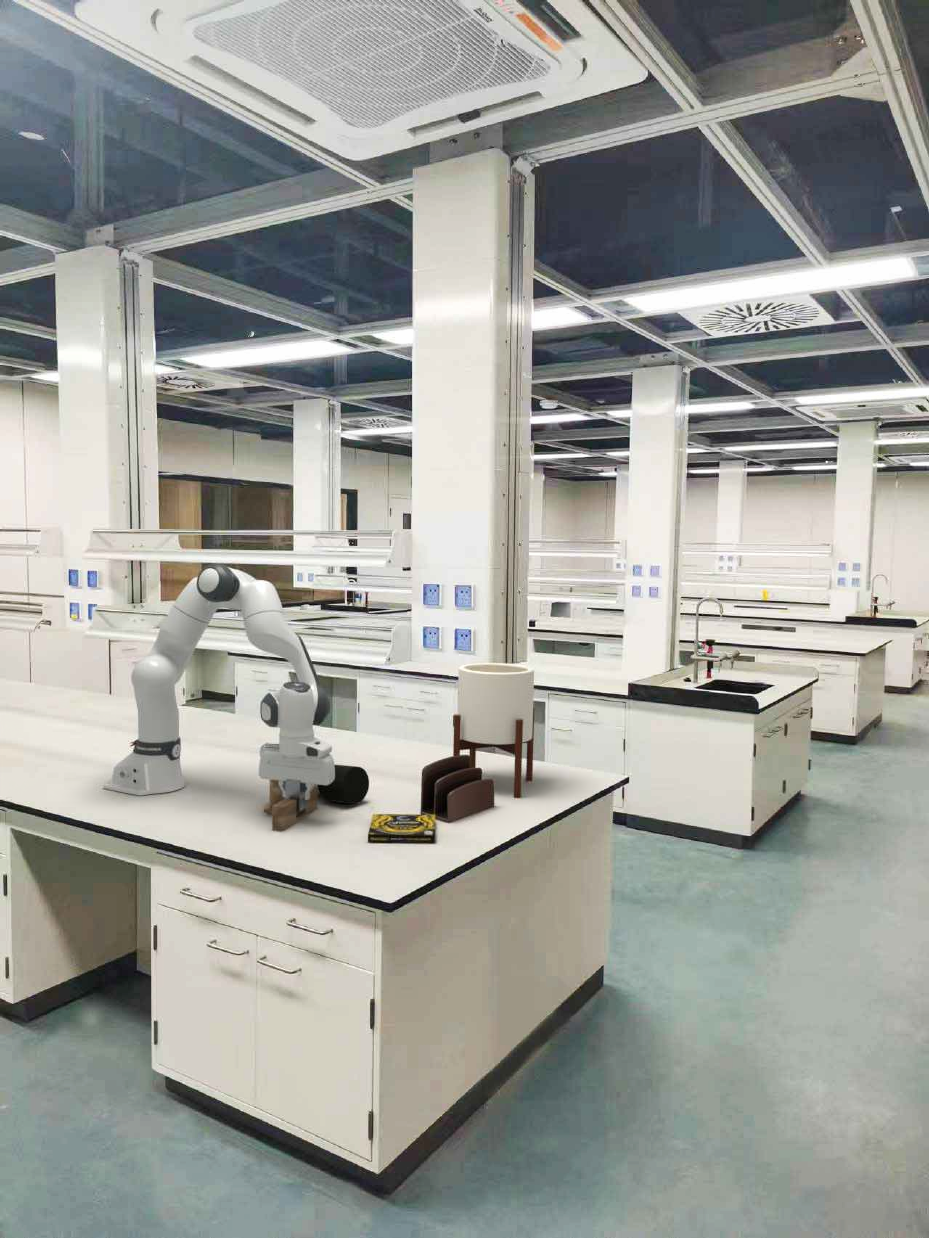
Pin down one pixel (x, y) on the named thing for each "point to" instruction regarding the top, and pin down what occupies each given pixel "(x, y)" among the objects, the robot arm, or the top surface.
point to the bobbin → (274, 796)
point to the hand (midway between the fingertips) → (296, 798)
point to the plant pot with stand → (496, 713)
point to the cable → (346, 785)
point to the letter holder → (454, 789)
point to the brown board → (292, 811)
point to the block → (296, 793)
